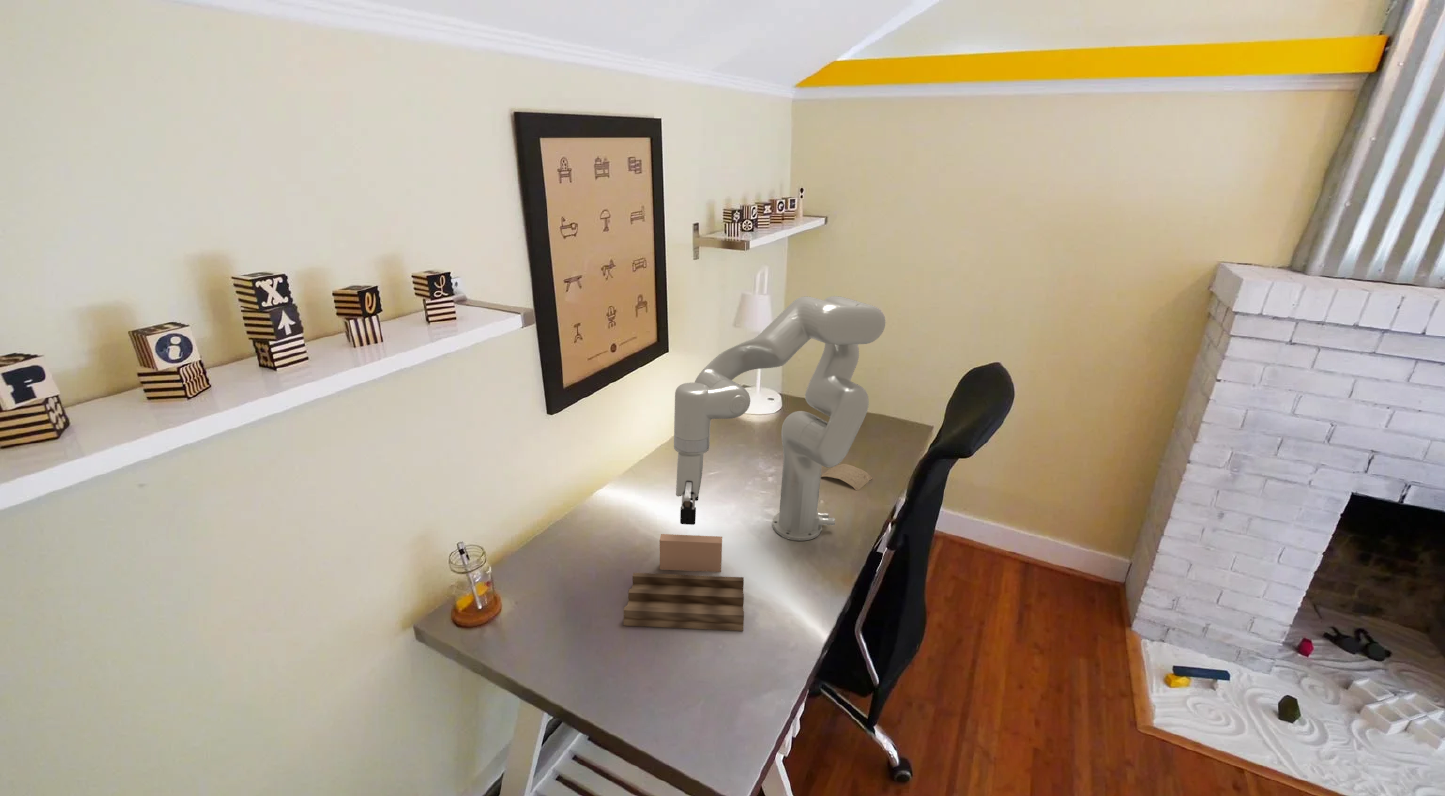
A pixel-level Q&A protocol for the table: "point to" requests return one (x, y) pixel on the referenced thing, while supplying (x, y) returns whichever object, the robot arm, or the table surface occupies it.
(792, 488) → the robot arm
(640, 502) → the table surface
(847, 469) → the tan curved panel
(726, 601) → the wooden stepped riser
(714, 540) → the clay strip
